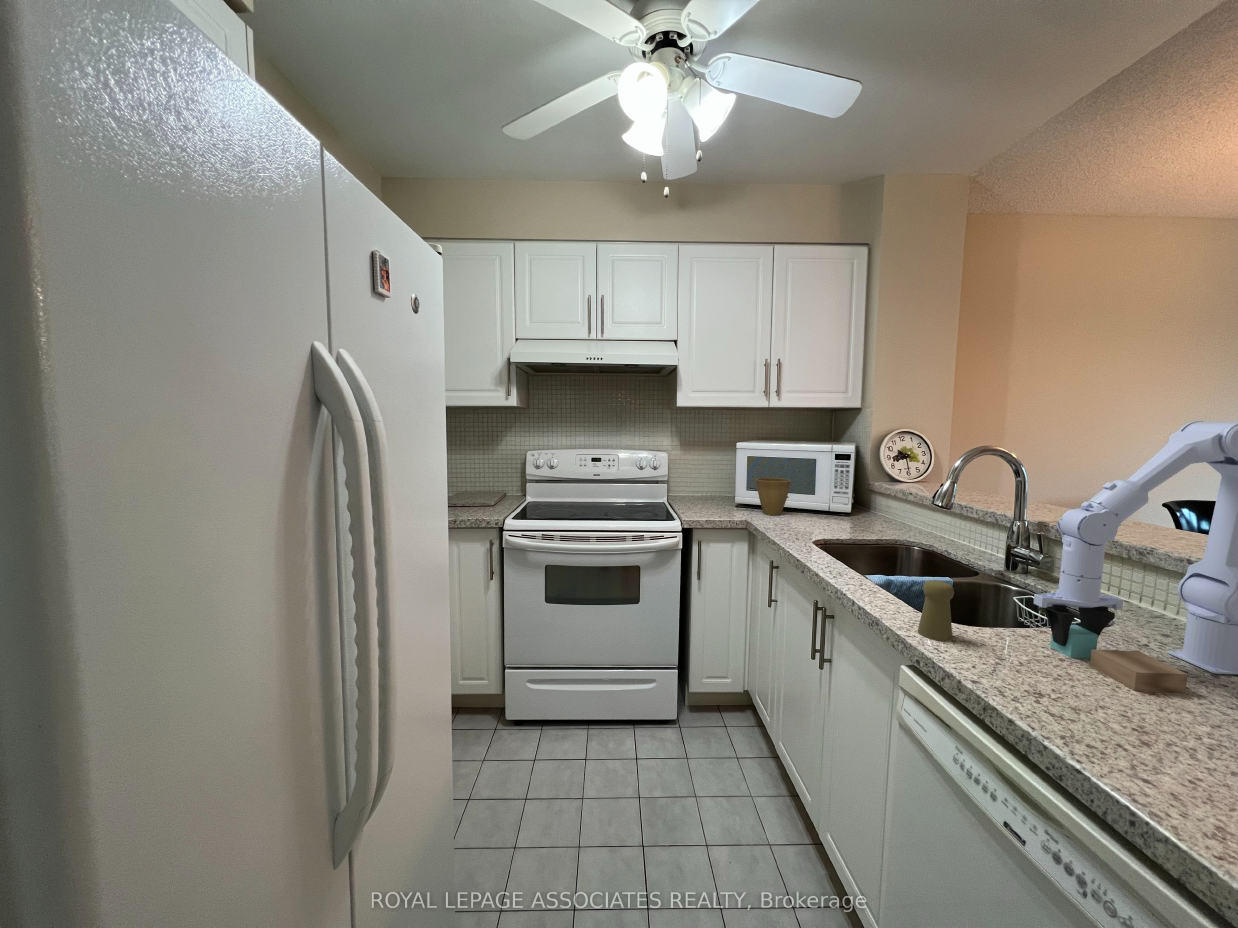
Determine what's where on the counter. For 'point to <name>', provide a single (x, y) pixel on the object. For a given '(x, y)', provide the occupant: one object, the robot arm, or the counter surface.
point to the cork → (936, 611)
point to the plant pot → (772, 494)
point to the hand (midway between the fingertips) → (1073, 644)
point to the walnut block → (1138, 671)
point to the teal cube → (1077, 643)
